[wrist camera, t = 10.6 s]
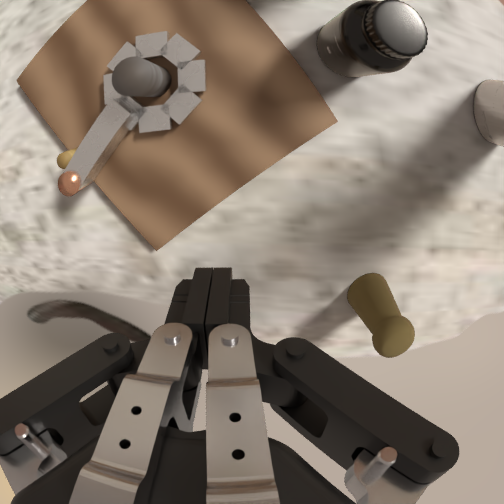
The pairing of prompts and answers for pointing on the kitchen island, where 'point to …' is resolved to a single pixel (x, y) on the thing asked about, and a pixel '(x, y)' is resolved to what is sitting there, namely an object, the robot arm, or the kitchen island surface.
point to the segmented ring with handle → (136, 107)
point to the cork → (381, 315)
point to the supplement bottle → (372, 38)
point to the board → (161, 89)
